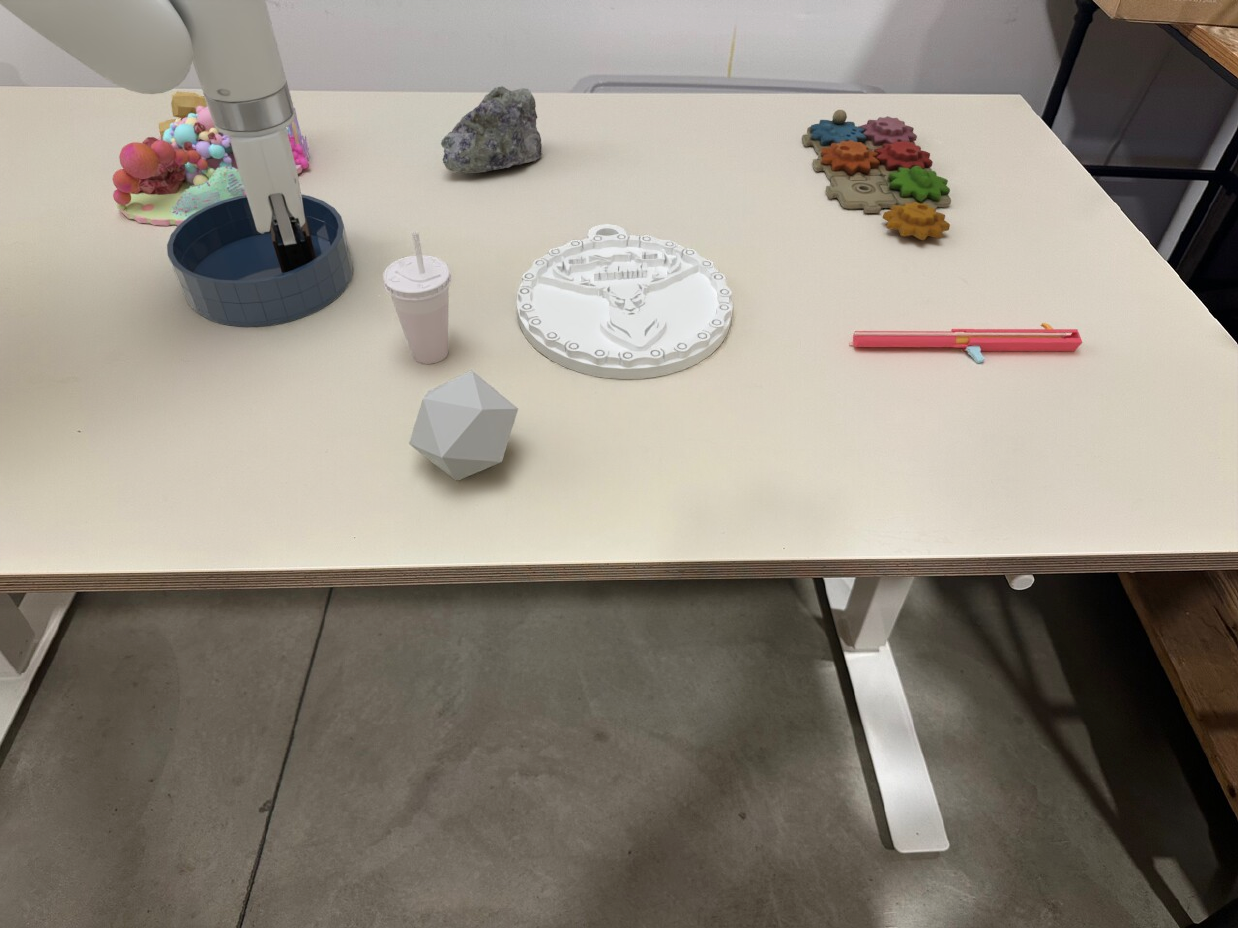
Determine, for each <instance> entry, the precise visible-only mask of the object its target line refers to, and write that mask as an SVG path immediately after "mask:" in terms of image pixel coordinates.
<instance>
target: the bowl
mask: <svg viewBox="0 0 1238 928" xmlns="http://www.w3.org/2000/svg"><path fill="white" fill-rule="evenodd" d="M301 195H302V202H303V208H304V216H305V218H306V219H307V223H308V227H309V231H310V234H311V238H312V242H313V245H314V249H315V254H316V258H315V259H314V260H312V261H311V262H309V263H307V264H305V265H303V266H301V267H299V268H296V269H294V270H292V271H289V272H282V271H281V268H280V265H279V262H278V258H277V255H276V252H275V249H274V245H273V242H272V236H271V230H270V231H269V232H264V234H261V233H259V232H258V231H257V229H256V226H255V222H254V219H253V215H252V212H251V209H250V206H249V202H248V199H247V196H246V195H242V196H237V197H233V198H230V199H226V200H223V201H220V202H217V203H215V204H212V205H210V206H207V207H205V208H203V209H201V210H199V211H198V212H196V213H194V214H192V215H191V216H189V217H188V218H187V219H186V220H184V221H183V222H182V223H180V225H178V226H176V228H175V229H174V230H173V231H172V232H171V234H170V236H169V239H168V241H167V244H166V255H167V258H168V260H169V262H170V265H171V267H172V270H173V272H174V274H175V277H176V280H177V282H178V284H179V287H180V289H181V291H182V294H183V296H184V298H185V300H186V302H187V304H188V305H189V307H190V308H191V309H192V310H193V311H194V312H195V313H197V314H198V315H199V316H201V317H202V318H204V319H206V320H209V321H212V322H214V323H218V324H221V325H225V326H232V327H241V328H242V327H243V328H259V327H268V326H269V327H270V326H276V325H281V324H285V323H291V322H293V321H296V320H300V319H302V318H305V317H308V316H310V315H312V314H314V313H317V312H318V311H321V310H323V309H324V308H325V307H327V306H329V305H330V304H332V303H333V302H335V300H337V299H338V298H339V297H340V296H341V295H342V294H343V293H344V292H345V290H346V289H347V288H348V286H349V285H350V283H351V282H352V278H353V275H354V263H353V258H352V253H351V249H350V245H349V242H348V237H347V232H346V229H345V228H346V227H345V224H344V220H343V218H342V216H341V214H340V213H339V211H337V209H336V208H335V207H334V206H332V205H330V204H329V203H328V202H326V201H324V200H322V199H319V198H317V197H314V196H311V195H308V194H302V193H301Z"/></svg>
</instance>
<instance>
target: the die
mask: <svg viewBox="0 0 1238 928" xmlns="http://www.w3.org/2000/svg"><path fill="white" fill-rule="evenodd" d="M421 400H422V401H421V404H420V406H419V410H418V413H417V417H416V419H415V423H414V426H413V428H412V432H411V436H410V439H409V443H408V444H409V445H410V446H411V447H413V449H415V450H416V451H417V452H419V453H420V454H421V455H422V456H423V457H425V458H426V459H427V460H429V461H430V462H432V464H434V465H435V466H436V467H438V468H439V469H440V470H441V471H442V472H444V473H445V474H446V475H448V476H449V477H450V478H451V479H453V480H454V481H455V482H459V481H460V480H463V479H465V478H468V477H469V476H472V475H474V474H477V473H479V472H483V471H484V470H487V469H489V468H491V467H493V466H496V465H498V464H500V463H502V462H503V459H504V456H505V452H506V450H507V446H508V444H509V440H510V437H511V434H512V431H513V427H514V424H515V421H516V418H517V414H518V411H519V408H518V407H517V406H516V405H514V403H512V402H511V401H510V400H509V399H507V397H505V396H504V395H503V394H502V393H500V392H499V391H498V390H497V389H496V388H494V387H493V386H492V385H491V384H489V382H487V381H486V380H485V379H483V378H482V377H481V376H480V375H479V374H478V373H476V372H475V371H474V370H473V369H471V370H468V371H466V372H464V373H463V374H460V375H458V376H456V377H454V378H452V379H450V380H448V381H446V382H444V383H442V384H440V385H438V386H436V387H434V388H431V389H430V390H428V391H427V392H426V393H425V394H424V396H423V397H422V399H421Z"/></svg>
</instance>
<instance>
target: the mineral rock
mask: <svg viewBox="0 0 1238 928" xmlns="http://www.w3.org/2000/svg"><path fill="white" fill-rule="evenodd" d="M536 107H537V106H536V99H535V97H534V95H533V93H532V92H531V90H530V89H529V88H523V87H522V88H520V89H514V90H510V89H508V88H506V87H504V86H503V85H501V86H496V87H494V88H493V89H492V90H490V91H489V93H487V94H485V95H484V97H483V98H482V100H481V101H480V102H479V104H478V106H476V107H474V108H473V109H472V110H471V111H469V112H467V113H466V114H465V115H464V116H462V118H461V119H460V120H459V121H458V122H457V123H456V124H455V126H454V127H453V128H452V130H451V131H449V132H448V133H447V134H446V135H445V136H444V137H443V138H442V139H441V142H440V145H441V147H442V148H443V153H444V155H443V157H442V163H443V164H444V166H445V168H446V169H447V170H448V171H451V172H453V173H467V174H472V173H487V172H490V171H496V170H503V169H505V168H506V169H509V168H510V167H512V166H518V165H523V164H527V163H531V162H536V161H537V160H538V159H541V157H542V154H543V153H542V151H543V147H542V145H543V144H542V137H541V133H540V132H539V130H538V128H537V119H538V114H537V110H536Z"/></svg>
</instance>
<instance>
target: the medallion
mask: <svg viewBox="0 0 1238 928" xmlns="http://www.w3.org/2000/svg"><path fill="white" fill-rule="evenodd" d="M714 264H715V263H714V262H713V261H712V260H710V259H708V258H704V257H702V256H701V255H700V254H699V253H698V251H696V249H693V248H687V247H685V246H682V245H679V244H677V243H676V241H674V240H671V239H659V238H656V237H654V236H652V235H649V234H644V235H634V234H633V235H632V234H628V233H627V231H626V229H624V228H623V227H621V226H619V225H616V224H611V223H602V224H598V225H595V226H592V227H591V228H590V229H589V230H588V231H587V238H582V239H580V240H579V239H572V240H570V241H568V242H567V243H566V244H564V245H561V246H558V247H557V246H556V247H551V248H550V249H549V250H548V252H547V253H546V254H545V255H544V256H542V257H540V258H536V259H534V260H533V261H532V266H531V267H530V269H529V270H527V271H525V272H524V273H523V274H522V275H521V277H522V278H521V280H522V281H521V283H520V285H519V287H518V289H517V294H516V314H517V320H518V323H519V328H520V330H521V332H522V333H523V335H524V337H525V339H526V340H527V341H528V343H530V345H531V346H533V348H534V349H535V350H536V351H537V352H539V353H540V354H541V355H542V356H545V357H546V358H547V359H549V360H550V361H552V362H553V363H556V364H558V365H560V366H562V367H564V368H566V369H568V370H572V371H574V372H577V373H580V374H583V375H589V376H593V377H597V378H598V377H599V378H603V379H613V380H644V379H652V378H659V377H665V376H668V375H672V374H674V373H678V372H682V371H684V370H687V369H689V368H691V367H693V366H695V365H697V364H699V363H700V362H702V361H704V360H705V359H707V358H708V357H710V356H711V355H713V353H714V352H715V351H716V350H717V349H718V348H719V347H721V345H722V343H723V342H724V340H726V337H727V336H728V333H729V330H730V327H731V324H732V317H733V307H734V306H733V305H734V304H733V298H732V297H733V296H732V295H733V291H732V289H730V288H729V287H728V285H727V283H726V280H727V279H726V277H727V276H726V275H725V274H724V273H722V272H720V271H719V270H717V268H716V267H715V265H714Z"/></svg>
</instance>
